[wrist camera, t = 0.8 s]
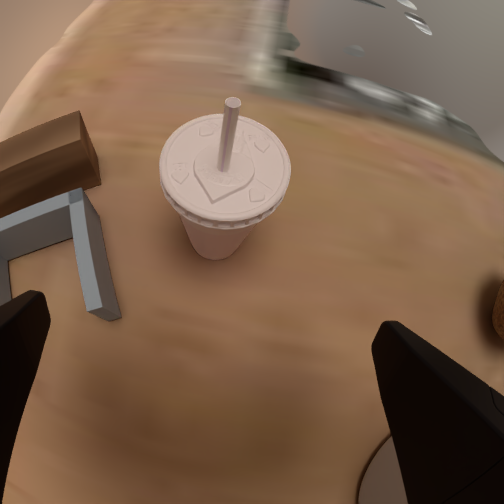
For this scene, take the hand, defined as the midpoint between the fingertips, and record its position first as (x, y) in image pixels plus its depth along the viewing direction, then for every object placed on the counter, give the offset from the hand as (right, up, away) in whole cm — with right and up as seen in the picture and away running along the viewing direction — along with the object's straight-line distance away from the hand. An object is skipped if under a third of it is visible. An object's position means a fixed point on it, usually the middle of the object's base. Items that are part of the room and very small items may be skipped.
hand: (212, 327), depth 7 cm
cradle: (-14, -1, +13) cm, 19 cm away
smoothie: (-2, +3, +16) cm, 17 cm away
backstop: (-17, +7, +15) cm, 24 cm away
